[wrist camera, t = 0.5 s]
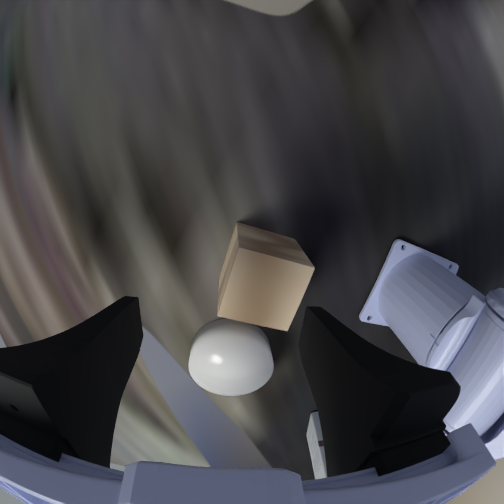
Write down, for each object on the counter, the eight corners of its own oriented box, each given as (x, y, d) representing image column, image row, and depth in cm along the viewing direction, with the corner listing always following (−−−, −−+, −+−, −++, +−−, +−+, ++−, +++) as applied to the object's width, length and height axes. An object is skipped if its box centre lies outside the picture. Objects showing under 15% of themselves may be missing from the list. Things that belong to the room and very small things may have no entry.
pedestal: (281, 327, 24) (286, 345, 21) (255, 382, 26) (258, 400, 23) (200, 309, 22) (197, 327, 20) (185, 368, 25) (182, 387, 22)
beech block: (294, 238, 21) (315, 267, 16) (274, 290, 22) (287, 331, 17) (236, 221, 20) (238, 247, 15) (219, 276, 22) (217, 316, 17)
